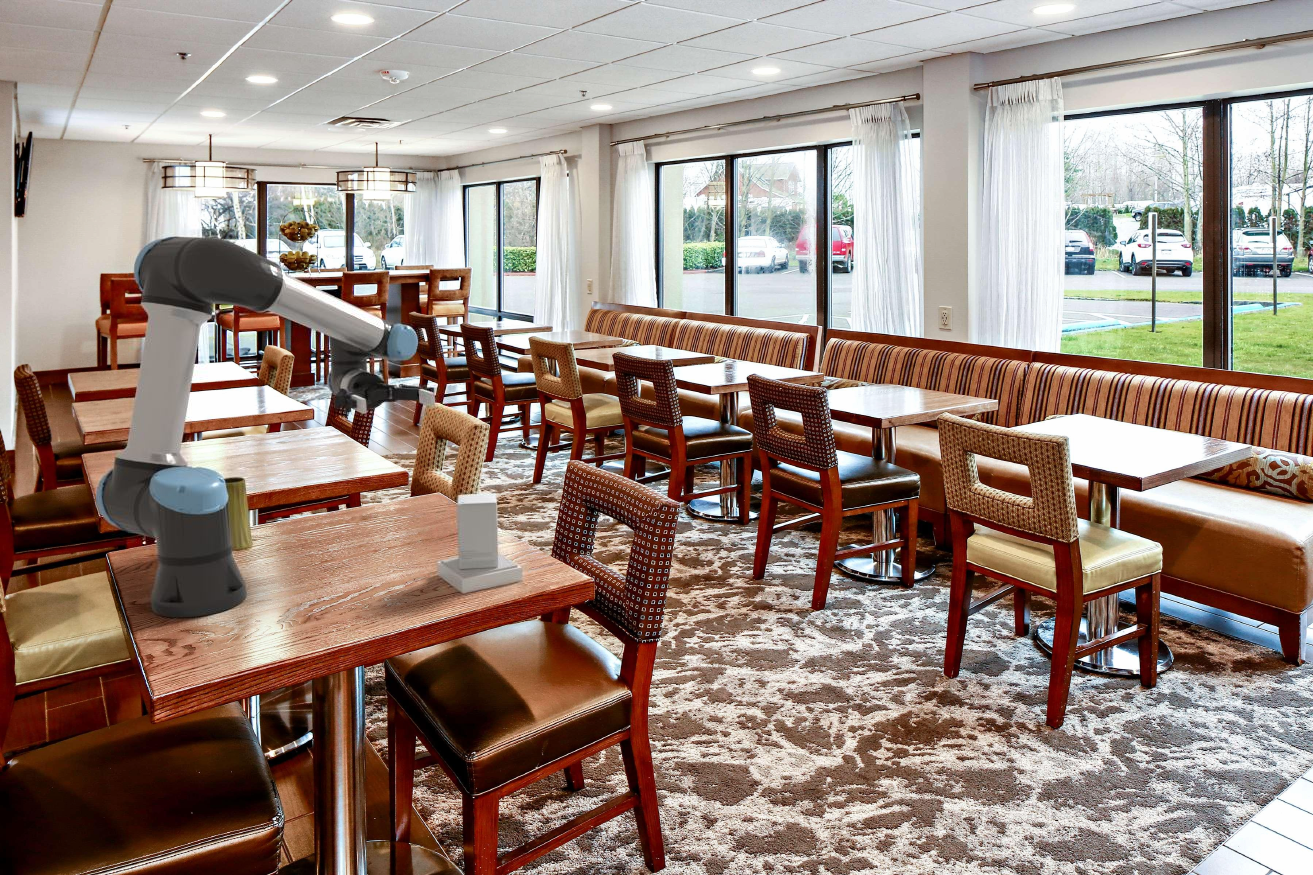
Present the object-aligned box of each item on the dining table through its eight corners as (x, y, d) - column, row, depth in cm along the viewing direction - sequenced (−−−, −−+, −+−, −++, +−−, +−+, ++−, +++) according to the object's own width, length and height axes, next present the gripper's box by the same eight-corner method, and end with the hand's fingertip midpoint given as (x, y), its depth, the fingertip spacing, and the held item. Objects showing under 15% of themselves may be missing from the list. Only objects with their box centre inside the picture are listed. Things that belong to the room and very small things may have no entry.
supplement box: (498, 567, 176) (496, 502, 173) (458, 570, 175) (455, 504, 172) (498, 555, 183) (496, 492, 180) (459, 557, 182) (457, 493, 179)
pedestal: (462, 593, 171) (462, 577, 171) (437, 574, 181) (436, 559, 180) (522, 580, 178) (522, 565, 177) (495, 563, 188) (494, 548, 187)
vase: (246, 539, 202) (241, 475, 199) (257, 546, 197) (252, 480, 194) (217, 545, 198) (210, 479, 195) (227, 552, 193) (221, 485, 190)
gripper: (421, 401, 207) (460, 416, 190) (304, 412, 193) (335, 429, 176) (420, 367, 205) (459, 379, 188) (302, 376, 191) (332, 389, 174)
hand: (399, 403), depth 182 cm, fingers open, 13 cm apart
